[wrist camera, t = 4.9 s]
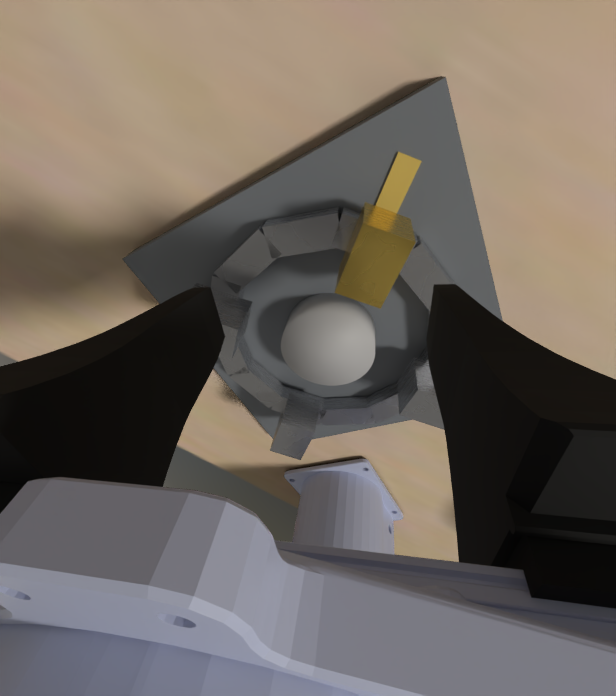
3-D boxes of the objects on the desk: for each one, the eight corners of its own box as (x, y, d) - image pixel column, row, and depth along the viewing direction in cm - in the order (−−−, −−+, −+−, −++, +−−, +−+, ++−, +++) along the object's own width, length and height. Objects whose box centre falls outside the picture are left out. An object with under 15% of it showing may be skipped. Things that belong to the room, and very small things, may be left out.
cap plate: (514, 383, 22) (530, 421, 20) (282, 433, 29) (273, 466, 26) (440, 76, 13) (454, 78, 11) (134, 250, 20) (102, 274, 18)
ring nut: (544, 261, 16) (578, 301, 13) (394, 444, 25) (396, 490, 22) (219, 140, 15) (183, 157, 12) (191, 379, 24) (168, 418, 21)
